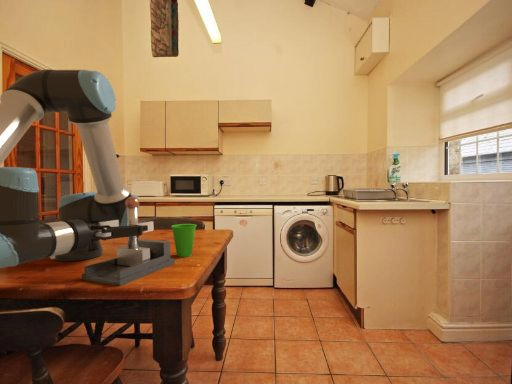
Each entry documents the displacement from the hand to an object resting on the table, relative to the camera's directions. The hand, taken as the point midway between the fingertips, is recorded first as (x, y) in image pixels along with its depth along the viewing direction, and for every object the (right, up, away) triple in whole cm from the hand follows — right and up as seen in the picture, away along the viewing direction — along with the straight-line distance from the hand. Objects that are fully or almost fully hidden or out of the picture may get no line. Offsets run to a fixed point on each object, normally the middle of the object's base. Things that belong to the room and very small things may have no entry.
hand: (134, 225), depth 85 cm
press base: (0, -14, -1) cm, 14 cm away
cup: (+11, -13, +17) cm, 24 cm away
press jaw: (0, -12, 0) cm, 12 cm away
